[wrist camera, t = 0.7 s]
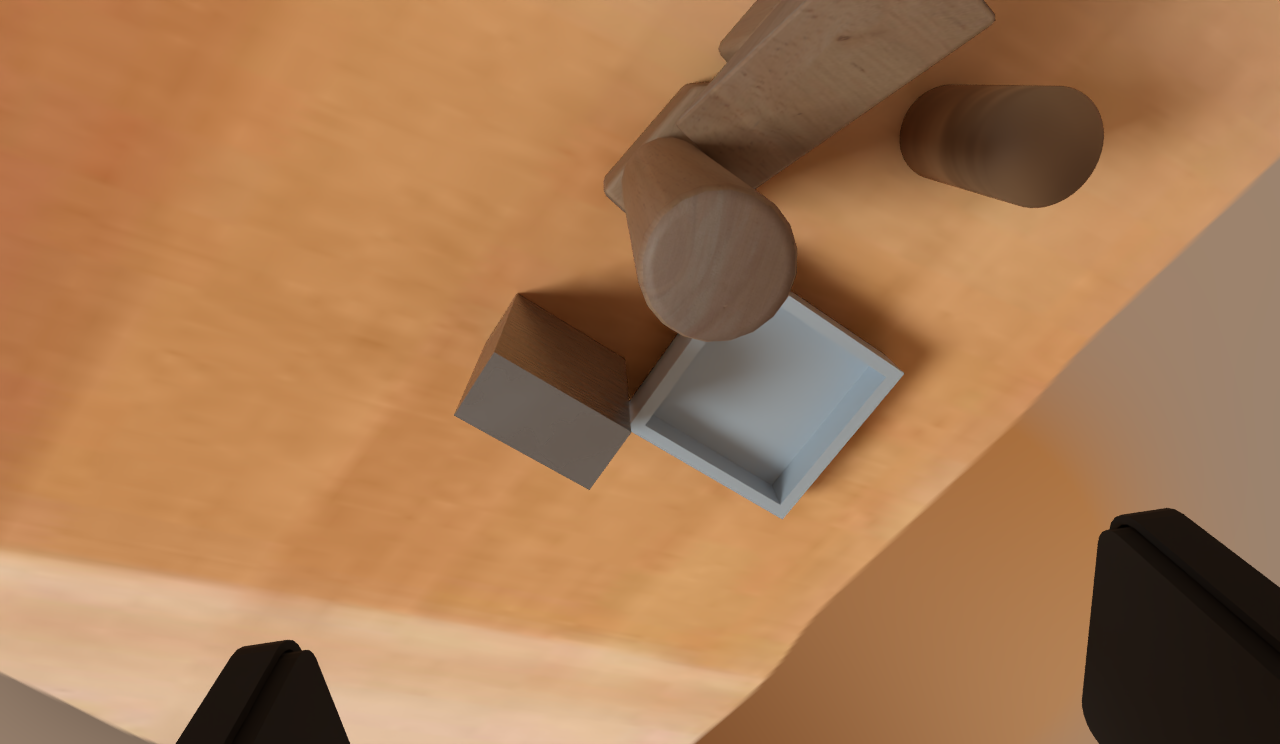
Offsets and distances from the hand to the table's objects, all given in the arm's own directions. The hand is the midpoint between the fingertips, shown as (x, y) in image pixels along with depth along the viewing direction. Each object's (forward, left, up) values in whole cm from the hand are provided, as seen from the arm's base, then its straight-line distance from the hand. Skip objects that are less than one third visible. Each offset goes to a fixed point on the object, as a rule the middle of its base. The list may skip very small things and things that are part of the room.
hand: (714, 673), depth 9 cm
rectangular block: (+7, 0, -27) cm, 28 cm away
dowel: (-11, +9, -27) cm, 30 cm away
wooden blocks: (-6, 0, -27) cm, 28 cm away
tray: (+3, +9, -27) cm, 28 cm away
